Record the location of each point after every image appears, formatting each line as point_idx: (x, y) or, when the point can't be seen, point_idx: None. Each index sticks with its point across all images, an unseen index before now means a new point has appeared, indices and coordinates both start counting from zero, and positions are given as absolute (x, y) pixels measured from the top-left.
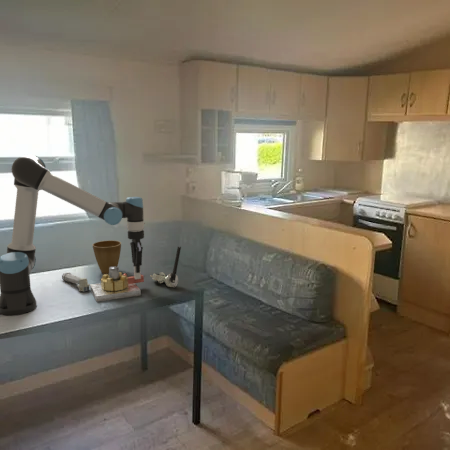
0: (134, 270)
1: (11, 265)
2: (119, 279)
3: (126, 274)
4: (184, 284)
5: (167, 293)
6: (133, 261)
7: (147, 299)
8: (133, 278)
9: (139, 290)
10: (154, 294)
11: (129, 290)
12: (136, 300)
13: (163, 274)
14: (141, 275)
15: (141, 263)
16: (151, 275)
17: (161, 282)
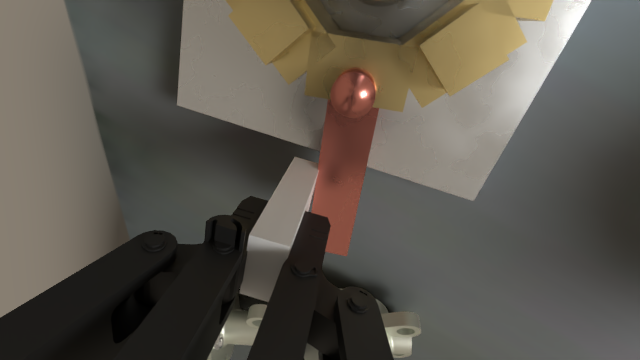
0: (284, 204)
1: None
2: (412, 32)
3: (334, 105)
4: (241, 349)
5: (157, 227)
6: (308, 300)
7: (107, 87)
8: (320, 157)
9: (178, 96)
10: (174, 170)
11: (213, 27)
12: (115, 14)
13: (309, 357)
14: (327, 241)
15: (123, 302)
16: (399, 321)
17: None
